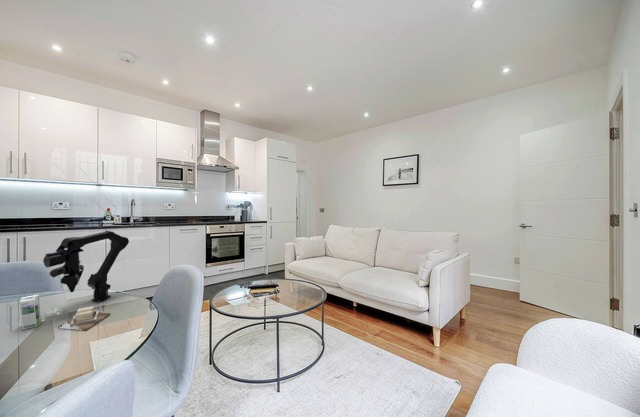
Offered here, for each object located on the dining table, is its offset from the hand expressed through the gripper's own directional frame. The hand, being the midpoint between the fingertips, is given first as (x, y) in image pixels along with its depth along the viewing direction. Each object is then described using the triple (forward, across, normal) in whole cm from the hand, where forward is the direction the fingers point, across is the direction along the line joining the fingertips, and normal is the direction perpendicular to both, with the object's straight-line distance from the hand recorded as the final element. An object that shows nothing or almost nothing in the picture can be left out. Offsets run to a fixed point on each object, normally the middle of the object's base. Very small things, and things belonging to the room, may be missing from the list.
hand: (74, 288), depth 140 cm
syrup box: (+12, +10, -14) cm, 21 cm away
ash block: (+11, +17, +6) cm, 21 cm away
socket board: (+12, +17, +7) cm, 22 cm away
